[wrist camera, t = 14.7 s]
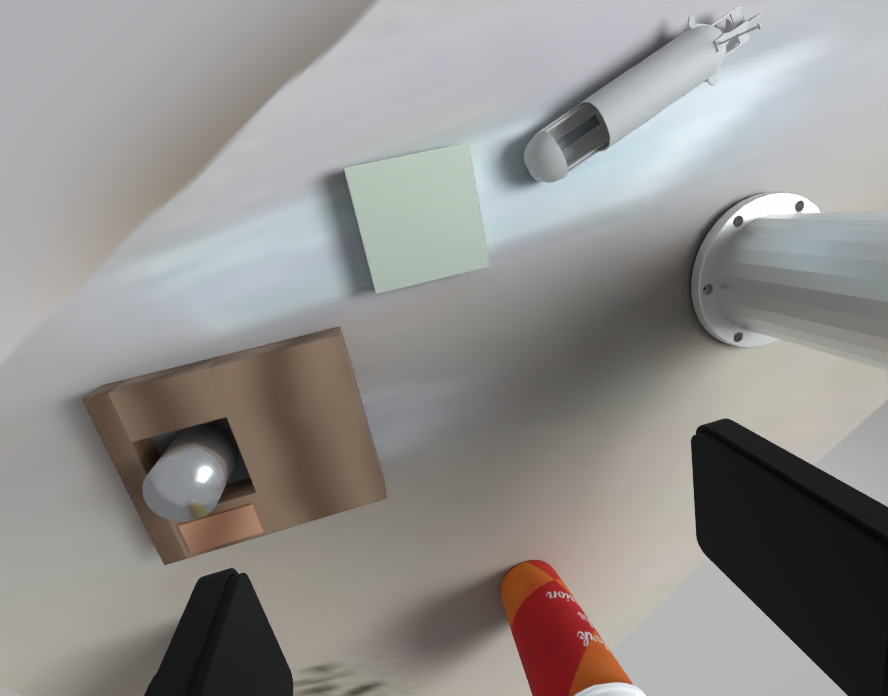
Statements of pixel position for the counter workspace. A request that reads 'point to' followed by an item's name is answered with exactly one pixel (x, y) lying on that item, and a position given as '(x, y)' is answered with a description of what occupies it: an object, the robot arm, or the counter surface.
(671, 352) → the counter surface
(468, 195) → the tab
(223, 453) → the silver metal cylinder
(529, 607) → the paper cup
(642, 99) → the torpedo
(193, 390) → the walnut flange plate
